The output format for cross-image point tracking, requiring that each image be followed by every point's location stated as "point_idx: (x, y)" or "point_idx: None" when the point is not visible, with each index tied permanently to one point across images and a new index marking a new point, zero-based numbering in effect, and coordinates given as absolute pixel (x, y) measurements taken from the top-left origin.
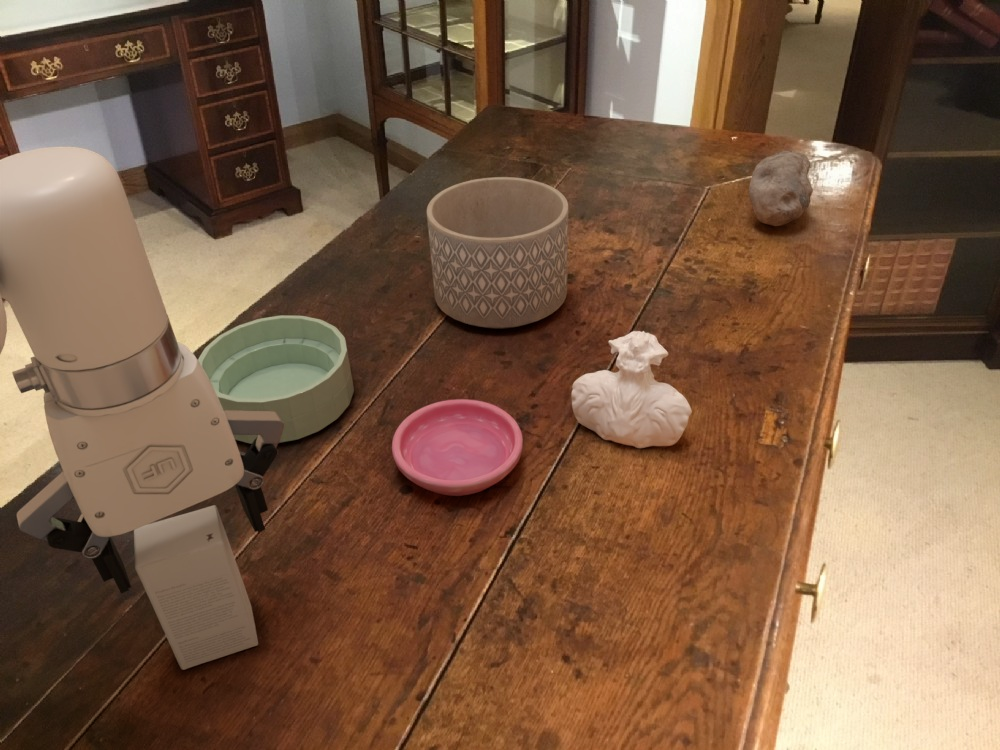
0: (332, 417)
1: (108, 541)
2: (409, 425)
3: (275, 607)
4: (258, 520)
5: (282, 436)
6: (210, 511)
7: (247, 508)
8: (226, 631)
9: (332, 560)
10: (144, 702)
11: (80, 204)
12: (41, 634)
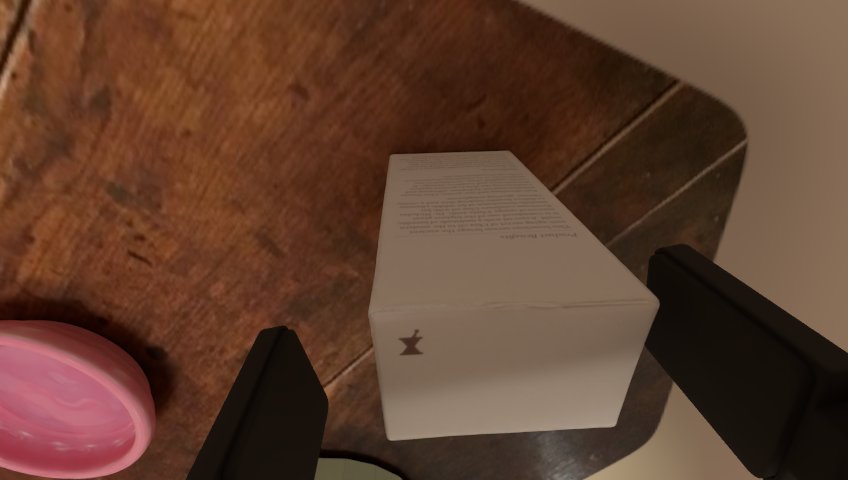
0: None
1: (788, 426)
2: (125, 452)
3: (360, 216)
4: (254, 361)
5: (329, 468)
6: (402, 425)
7: (257, 418)
8: (432, 169)
9: (269, 270)
10: (572, 113)
11: None
12: None
